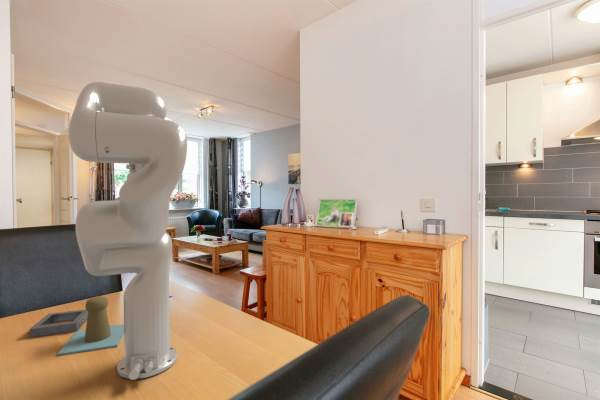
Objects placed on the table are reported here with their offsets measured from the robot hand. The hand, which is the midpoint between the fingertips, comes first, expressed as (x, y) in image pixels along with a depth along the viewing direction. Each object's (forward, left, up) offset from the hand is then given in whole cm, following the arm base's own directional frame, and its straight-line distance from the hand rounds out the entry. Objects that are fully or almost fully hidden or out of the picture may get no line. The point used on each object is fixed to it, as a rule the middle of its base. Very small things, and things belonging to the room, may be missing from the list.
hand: (145, 225), depth 90 cm
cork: (-6, +11, -30) cm, 33 cm away
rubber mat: (-6, +12, -30) cm, 33 cm away
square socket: (+6, +24, -30) cm, 39 cm away
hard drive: (+21, +1, -31) cm, 38 cm away
